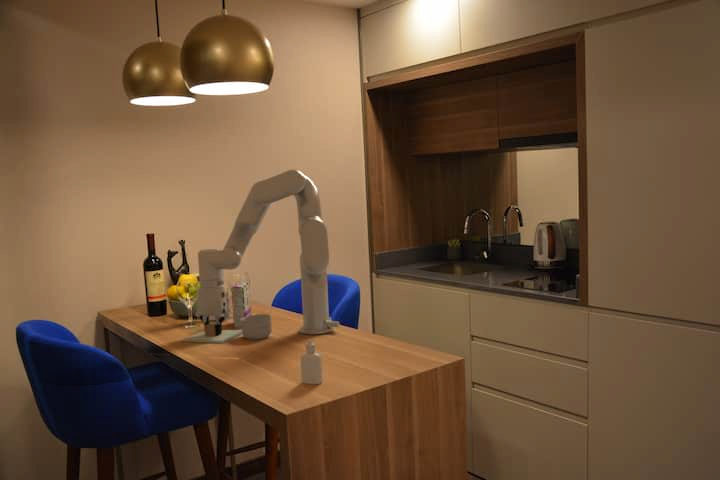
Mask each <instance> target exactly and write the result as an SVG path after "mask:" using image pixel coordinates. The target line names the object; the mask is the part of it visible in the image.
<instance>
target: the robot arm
mask: <svg viewBox="0 0 720 480" xmlns="http://www.w3.org/2000/svg"><path fill="white" fill-rule="evenodd" d="M246 196H247V197H246V198H245V201H244V202H243V204H242V207H241V208H240V210H239V212H238V215H237V217H236V219H235V223H234V226H233V229H232V231H231V233H230V234H229V236H228V239H227V241H226V243H225V245H224V247H223V249H220V250H219V249H216V248H215V249H214V248H205V249H201V250H199V251H198V253H197V262H198V264H197V265H198V280H199V288H198V289H197V298H196V299H197V300H196V306H197V308H196V311H195V313H194V316H195V317H197V319H199V320H200V321H201V323H202V324H203V325H204V328H203V329H204V330H205V325H207V324H209V323H211V322H212V321H209V319H210V316H215V319H216V321H215V322H216V324H215V332H216V335H220V334H221V333H222V330H223V327H222V324H223V321H224V320H225V319H226V318H227V317H229V316H230V314H231V313H230V314H229V312H228V307H227V299H226V298H227V293H226V291H225V287H224V285H225V281H222V280H221V270H220V269H223V270H230V271H231V270H236V269H237V268H238V267H240V265H241V263H242V258H243V257H244V254H245V252H246V250H247V247H248V246H249V244H250V241H251V240H252V238H253V237H254V236H255V234H256V233H257V231H258V230H259V229H260V226H261V224H262V223H263V220H264V218H265V215H266V214H267V211H268V210H269V208H270V206H271V204H272V203H276V202H278V201H281V200H284V199H285V198H289V197H292V196H294V199H295V201H296V209H297V219H298V227H297V228H298V234H299V238H300V247H301V252H300V255H299V267H300V269H299V270H300V279H301V302H302V304H301V305H302V324H303V325H302V326H300V327H299V329H298V330H299V333H301V334H304V335H305V334H306V335H322V334H327V333H331V332H333V331H334V328H340V322H339V321H338V320H337V321H336V320H332V317H331V316H330V314H329V293H328V292H329V290H328V287H329V286H328V274H327V273H328V272H327V271H328V268H329V265H330V252H329V250H330V249H329V240H328V239H329V236H328V230H327V225H326V223H325V222H324V220H323V218H322V217H323V216H322V215H323V214H322V208H321V198H320V194H319V191H318V189H317V187H316V185H315V184H314V182H313V181H312V180H311V178H309V176H306V175H305V174H303V172H302V171H300V170H298V169H288V170H286V171H283V172H282V173H279V174H276V175H273V176H271V177H268V178H266V179H262V180H258V181H257V182H255V183H253V185H252V186H251V188H250V190H249V192H248V194H247V195H246ZM222 285H223V287H221V286H222ZM222 314H224V316H222ZM224 322H225V321H224Z"/></svg>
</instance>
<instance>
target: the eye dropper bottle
mask: <svg viewBox="0 0 720 480" xmlns="http://www.w3.org/2000/svg"><path fill="white" fill-rule="evenodd" d="M300 373H301V374H300V375H301V382H302V383H303V384H307V385H320V384H321V383H322V382H323V365H322V356H321V354H320V353H318V352H316V345H315V343H313V341H312V339H308V343H307V344H306V345H305V352H304V353H302V354H301V356H300Z"/></svg>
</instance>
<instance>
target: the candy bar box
mask: <svg viewBox="0 0 720 480" xmlns="http://www.w3.org/2000/svg"><path fill="white" fill-rule="evenodd" d="M230 289H231V290H230V291H231V301H232V303H231V304H232V318H233V319H232V320H233V329H242V327H241V321H240V319H241V318H243V317H246V316H250V315H252V311H251V309H252V308H251V297H250V296H251V295H250V282H249V281H248V282H247V281H246V282H244V281H243V282H241V281H240V282H236V283H235V284H234V285H233V286H232V287H231V288H230Z"/></svg>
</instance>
